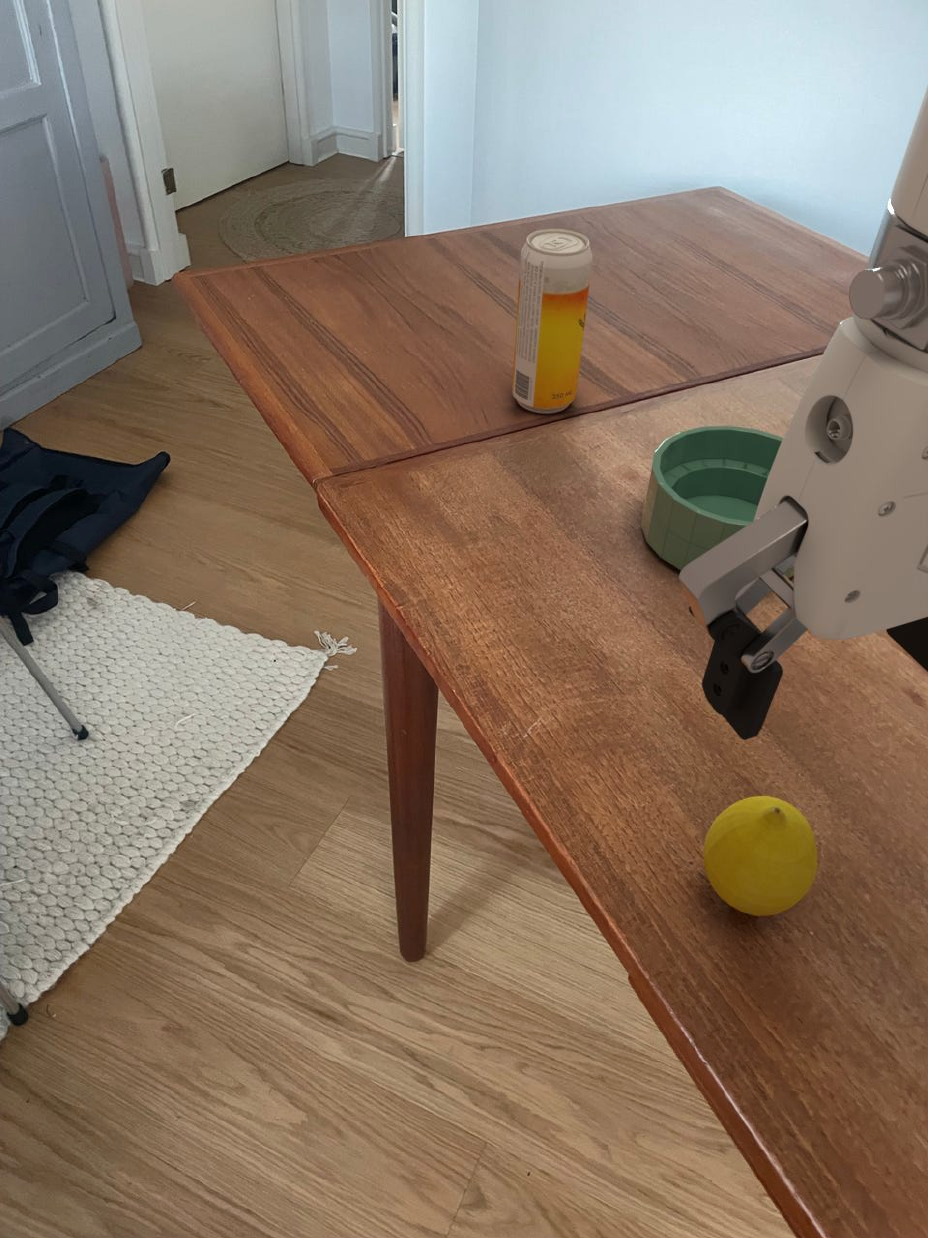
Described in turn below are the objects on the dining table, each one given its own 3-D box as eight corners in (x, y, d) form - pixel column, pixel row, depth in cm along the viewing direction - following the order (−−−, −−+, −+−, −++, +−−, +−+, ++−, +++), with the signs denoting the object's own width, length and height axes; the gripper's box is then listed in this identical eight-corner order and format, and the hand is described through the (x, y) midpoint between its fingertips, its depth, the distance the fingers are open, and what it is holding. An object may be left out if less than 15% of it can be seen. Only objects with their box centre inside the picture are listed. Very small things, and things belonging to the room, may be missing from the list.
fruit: (797, 954, 48) (844, 869, 43) (688, 932, 49) (721, 846, 43) (791, 862, 52) (834, 774, 47) (691, 843, 53) (721, 754, 47)
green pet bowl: (846, 566, 71) (871, 502, 67) (700, 609, 67) (718, 544, 63) (744, 474, 80) (761, 413, 76) (610, 507, 76) (620, 444, 72)
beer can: (588, 399, 89) (608, 240, 78) (547, 423, 85) (563, 260, 75) (539, 377, 92) (552, 221, 81) (498, 399, 88) (506, 239, 78)
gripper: (849, 398, 22) (700, 814, 34) (1313, 299, 28) (1045, 689, 39) (681, 274, 27) (601, 674, 39) (1101, 210, 33) (919, 579, 44)
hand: (824, 681), depth 39 cm, fingers open, 9 cm apart
